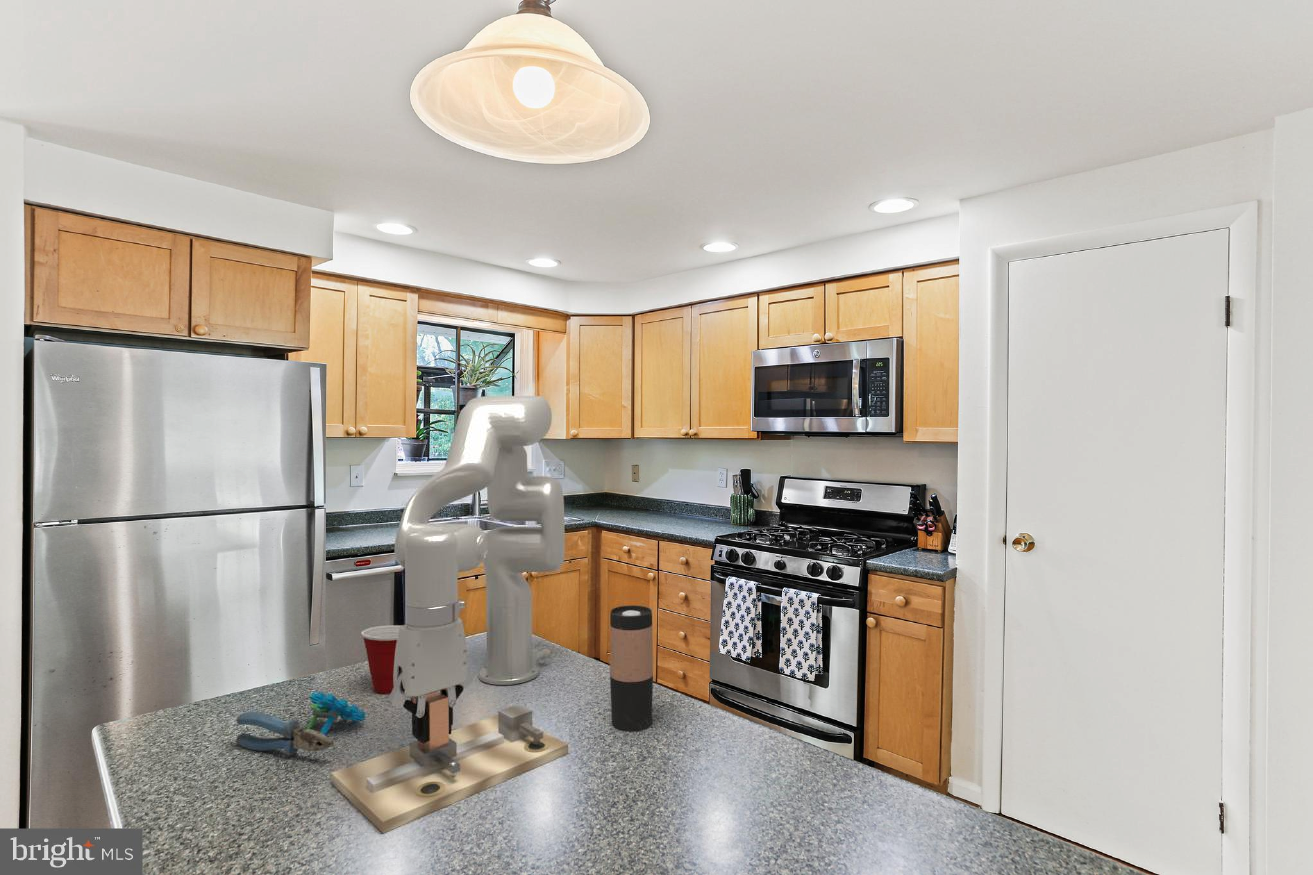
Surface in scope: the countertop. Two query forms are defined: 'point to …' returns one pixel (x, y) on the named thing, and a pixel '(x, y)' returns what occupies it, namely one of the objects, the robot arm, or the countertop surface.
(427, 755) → the block
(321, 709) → the gear
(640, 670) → the travel mug
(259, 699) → the countertop surface
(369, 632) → the plastic cup
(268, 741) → the pliers
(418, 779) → the wooden slide jig
